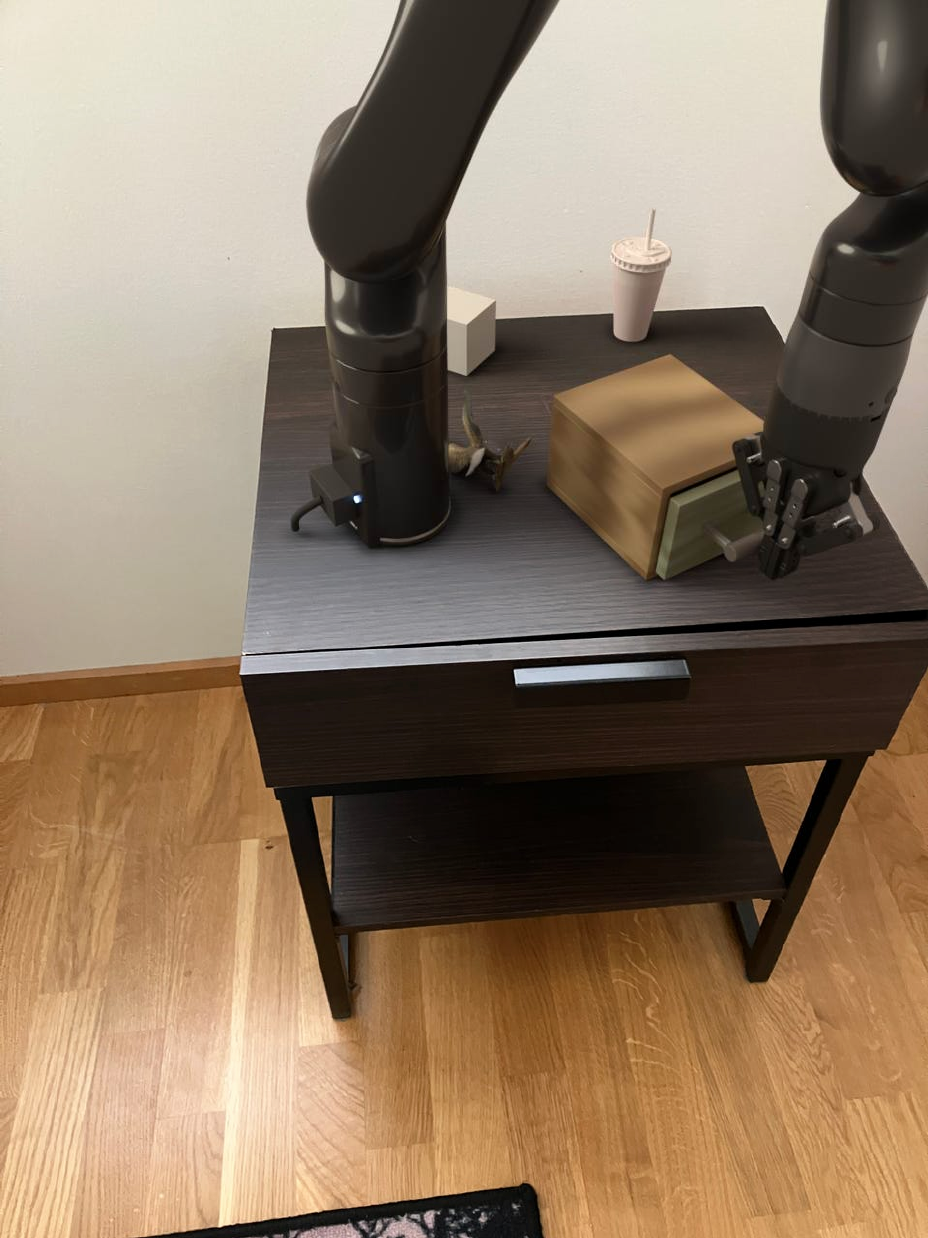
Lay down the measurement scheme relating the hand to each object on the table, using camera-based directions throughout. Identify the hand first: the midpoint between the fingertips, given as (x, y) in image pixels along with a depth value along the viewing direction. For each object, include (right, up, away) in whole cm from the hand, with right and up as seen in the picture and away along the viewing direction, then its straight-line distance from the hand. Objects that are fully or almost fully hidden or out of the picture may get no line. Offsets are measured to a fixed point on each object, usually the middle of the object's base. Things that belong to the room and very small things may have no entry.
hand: (774, 571), depth 75 cm
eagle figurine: (-24, +10, +16) cm, 30 cm away
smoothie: (-6, +28, +33) cm, 44 cm away
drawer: (-5, +5, +9) cm, 11 cm away
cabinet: (-8, +6, +12) cm, 15 cm away
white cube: (-25, +25, +29) cm, 46 cm away
